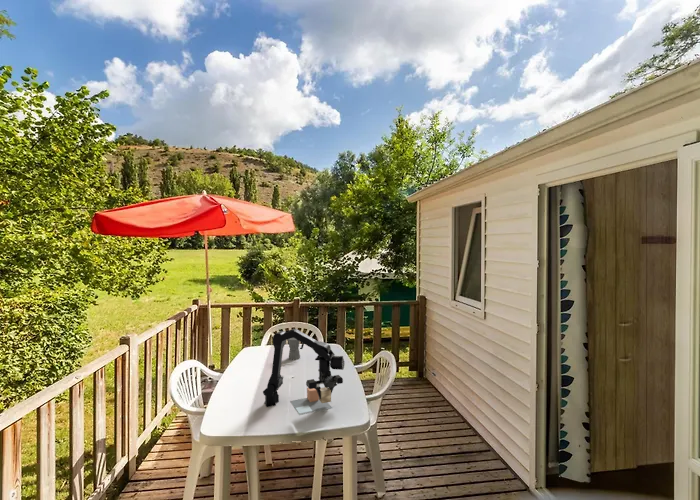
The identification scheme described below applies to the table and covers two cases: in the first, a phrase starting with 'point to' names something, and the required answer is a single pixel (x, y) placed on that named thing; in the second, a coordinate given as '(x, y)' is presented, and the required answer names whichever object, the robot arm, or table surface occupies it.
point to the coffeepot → (294, 348)
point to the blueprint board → (309, 406)
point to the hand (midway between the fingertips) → (324, 397)
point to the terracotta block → (312, 395)
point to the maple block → (325, 395)
